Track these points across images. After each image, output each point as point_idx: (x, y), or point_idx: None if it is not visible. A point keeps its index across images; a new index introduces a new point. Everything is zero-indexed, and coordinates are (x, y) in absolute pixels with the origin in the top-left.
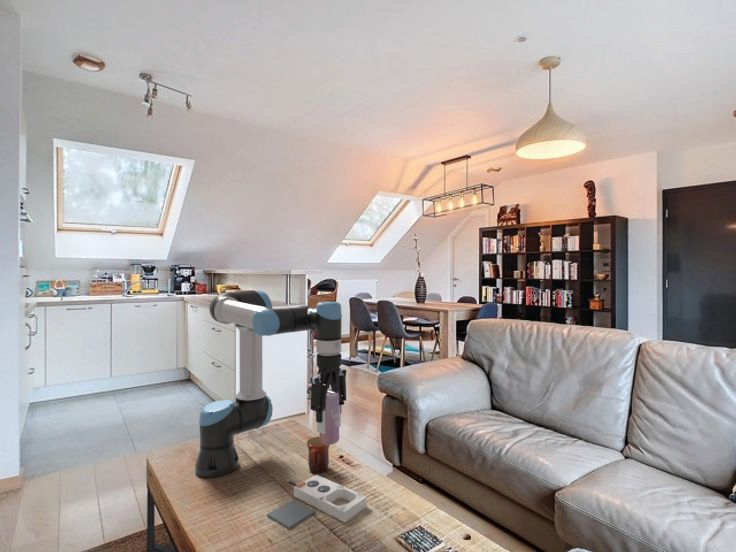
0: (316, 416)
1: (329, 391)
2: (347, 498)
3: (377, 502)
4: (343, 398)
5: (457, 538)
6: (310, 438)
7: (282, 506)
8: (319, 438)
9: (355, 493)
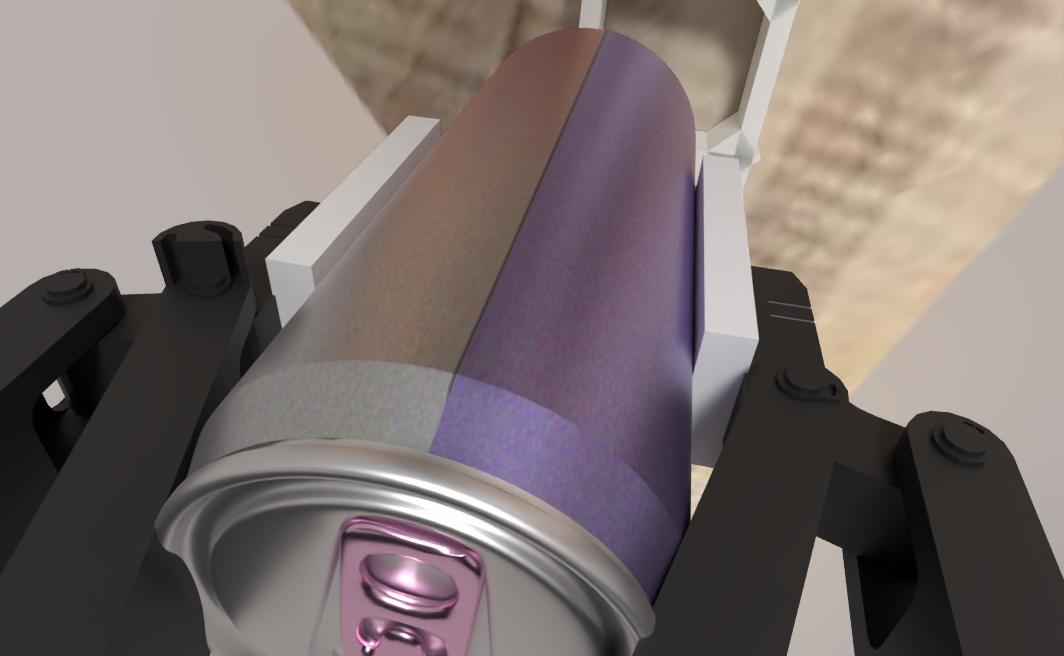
0: (254, 249)
1: (501, 612)
2: (757, 45)
3: (801, 200)
4: (845, 563)
5: (693, 500)
6: None
7: None
8: (500, 65)
9: (750, 120)
